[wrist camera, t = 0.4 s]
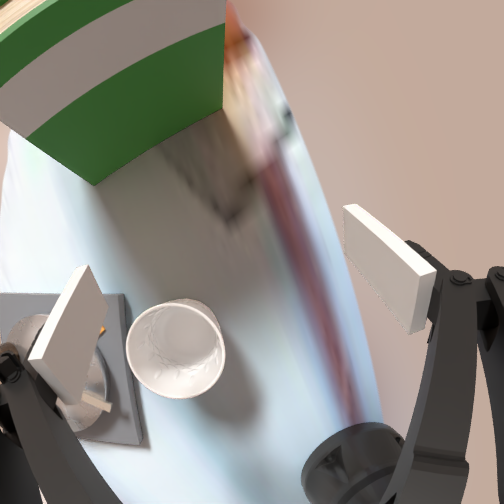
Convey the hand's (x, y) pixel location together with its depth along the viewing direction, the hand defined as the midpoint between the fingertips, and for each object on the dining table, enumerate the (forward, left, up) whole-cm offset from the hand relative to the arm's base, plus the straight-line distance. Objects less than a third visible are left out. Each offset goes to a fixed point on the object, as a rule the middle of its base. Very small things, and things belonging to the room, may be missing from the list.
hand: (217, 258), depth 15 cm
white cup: (-7, +4, -18) cm, 20 cm away
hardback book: (+17, +9, -18) cm, 27 cm away
